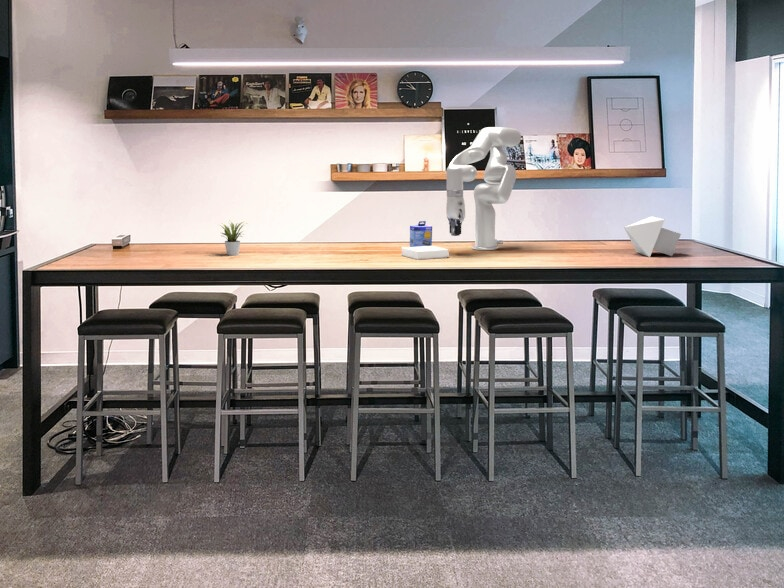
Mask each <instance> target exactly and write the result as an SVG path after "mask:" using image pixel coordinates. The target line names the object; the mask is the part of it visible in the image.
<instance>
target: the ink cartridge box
mask: <svg viewBox="0 0 784 588" xmlns="http://www.w3.org/2000/svg"><path fill="white" fill-rule="evenodd" d="M432 240H433V225H430V224H429V225H428V224H427V225H426V220H421V221H418V224H416V225H409V247H421V246H433V241H432Z"/></svg>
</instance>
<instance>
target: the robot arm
mask: <svg viewBox="0 0 784 588" xmlns="http://www.w3.org/2000/svg"><path fill="white" fill-rule="evenodd" d="M521 140H522V134H521V132H520V131H519V130H518V128H511V127H503V126H488V127H484V128H482V129H480V130H479V132H478V134H477V135H476V137H475V138H474V140H473V142H472V143H471V145H470V146H469V147H468V148H466V149H464V150H463V151H461V152H459V153H458V154H456V155H455V156H454V158H452V160H451V161H450V163H449V165H448V167H447V168H446V169H445V170H446V174H445V175H446V206H445V207H446V210H445V211H446V218H447V219H448V225H449V234H451V220H453V219H455V225H456V226H455V235H457V234H460V235H461V234H462V225H463V222H464V221H465V218H466V207H465V206H466V205H465V200H464V182H465V183H466V182H469V183H470V182H472V181H474V180H475V179H476V178H477V176H478V171H477V169H476V167H475V166H473V165H470V164H473V163H477V162H479V161H481V160H483V159H485V158H486V156H487V155H488V153H490V154H489V159H488V162H487V165H486V167H485V170H484V173H483V180H484V182H485V183H479V184H477V185H476V186H475V188H474V190H473V198H474V204H475V205H474V206H475V223H474V224H475V225H474V228H475V233H474V245H472V246H471V249H472V250H476V251H477V250H478V251H494V250H498V249H499V247H498V245H504V240H502V239H501V240H497V239H496V210H495V208H494V206H493V205H503V204H506V203H508V201H509V199H510V196H511V194H512V191H513V188H514V186H515V182H516V179H517V170H516V168H515V167H514V165H511V164H507V162H508V156H507V153H506V152H505V149H504V148H503V147H517V146H518V145H519V144H520V142H521ZM457 220H458V222H457Z"/></svg>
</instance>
